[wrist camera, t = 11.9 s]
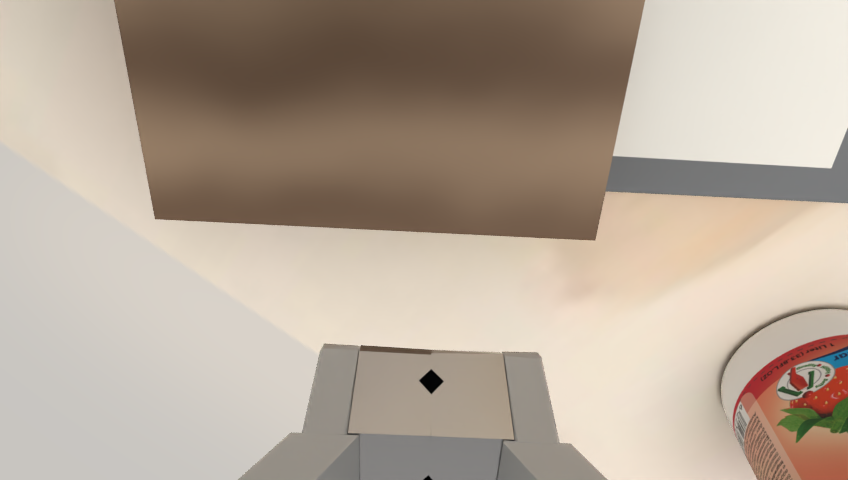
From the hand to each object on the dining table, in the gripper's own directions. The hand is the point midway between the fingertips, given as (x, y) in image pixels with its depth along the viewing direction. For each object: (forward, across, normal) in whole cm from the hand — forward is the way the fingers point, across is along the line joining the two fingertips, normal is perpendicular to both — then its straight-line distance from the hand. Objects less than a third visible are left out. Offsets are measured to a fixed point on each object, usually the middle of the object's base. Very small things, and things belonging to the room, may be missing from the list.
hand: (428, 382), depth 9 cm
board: (+20, +2, 0) cm, 20 cm away
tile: (+20, -12, 0) cm, 23 cm away
